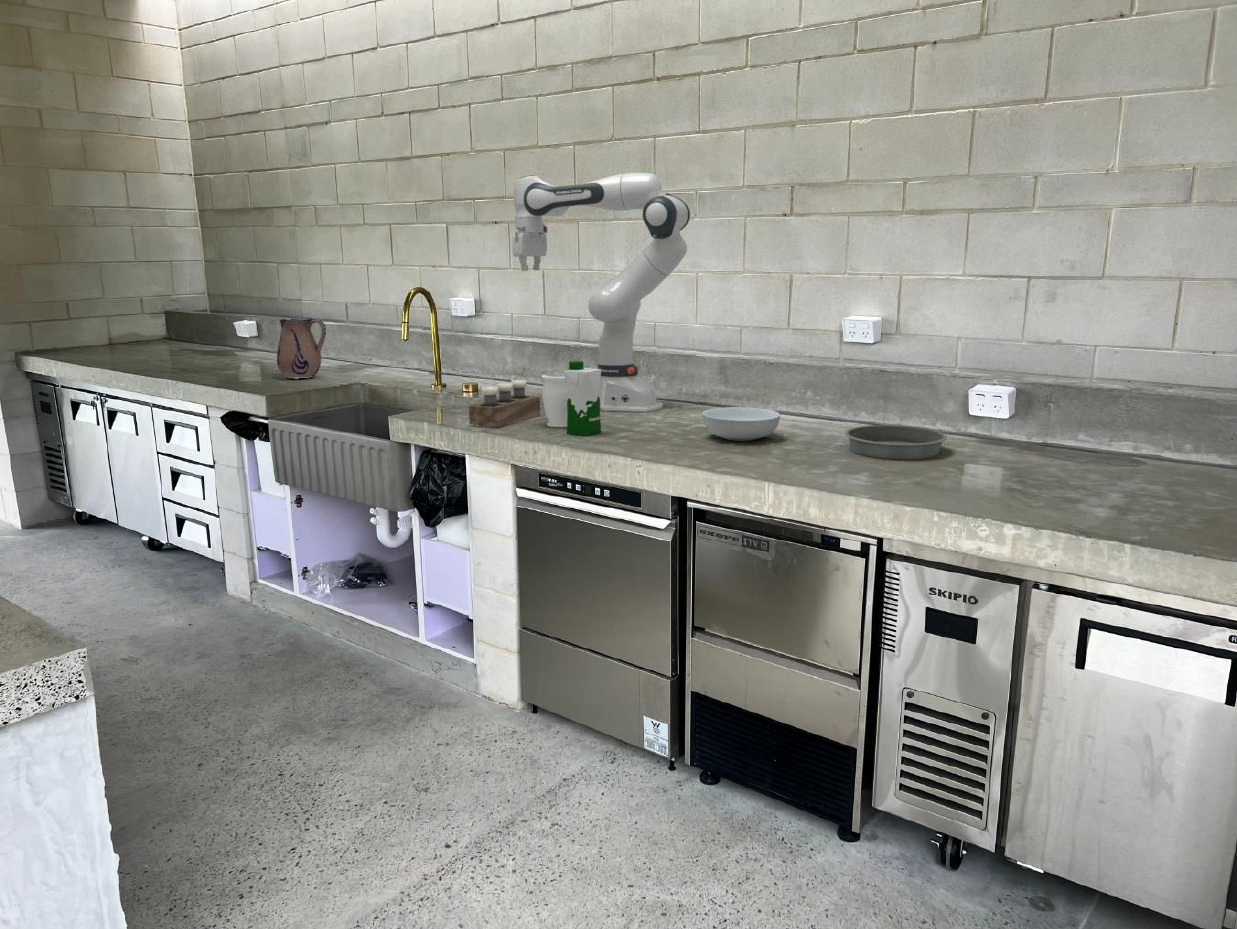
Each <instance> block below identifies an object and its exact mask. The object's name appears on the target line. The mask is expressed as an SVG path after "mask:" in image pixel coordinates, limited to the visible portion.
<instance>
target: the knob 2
mask: <svg viewBox="0 0 1237 929" xmlns="http://www.w3.org/2000/svg"><path fill="white" fill-rule="evenodd" d="M510 383H512V384H513V390H512V392H513V394H512V395H513V397H514V399H524V398H525V396H526V391H525V390H526V388H527V380H526V379H511V380H510Z"/></svg>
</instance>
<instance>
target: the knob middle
mask: <svg viewBox="0 0 1237 929" xmlns="http://www.w3.org/2000/svg"><path fill="white" fill-rule="evenodd" d="M496 386H497V387H498V398H499V402H504V403H509V402H511V395H512V392H513V384H512V383H511V382H498V383H496Z"/></svg>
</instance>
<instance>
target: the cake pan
mask: <svg viewBox="0 0 1237 929" xmlns="http://www.w3.org/2000/svg"><path fill="white" fill-rule="evenodd" d="M844 435H845V436H846V437H847V438H848V439H849V446H850V449H851V451H852V452H854V453H856V454H859V455H862V456H866V457H871V458H872V457H873V458H878V459H891V460H893V459H894V460H915V459H918V460H919V459H925V458H931V457H934V456H938V454H939V453H940V450H941V447H942V443H943V442H945V441H946V440H947V439H948V436H947V435H946V434H945V433H944V432H942V431H938V430H935V429H932V428H926V427H920V426H911V425H910V426H909V425H901V424H900V425H899V424H898V425H895V424H893V425H892V424H876V425H862V426H856V427H852V428H849V429H847V430H846V431H845V432H844Z"/></svg>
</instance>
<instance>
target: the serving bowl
mask: <svg viewBox="0 0 1237 929" xmlns="http://www.w3.org/2000/svg"><path fill="white" fill-rule="evenodd" d="M701 414H702V420H703V423H704V426H705V428H706V429H707V430H708V431H709V432H710V433H711V434H713V435H715V436H717V437H719V438H723V439H725V440H728V441H737V442H743V441H744V442H747V441H754V440H757V439H761V438H764V437H768V436H769V435H771V434H772V433H773V432H774V431H775V430H776V429H777V427H778V426H779V422H780V418H781V414H780V412H777V411H775V410H772V409H766V408H760V407H759V408H758V407H747V406H745V407H744V406H736V407H735V406H731V407H730V406H729V407H716V408H712V409H711V408H710V409H706V410H704V411H703V412H702V413H701Z"/></svg>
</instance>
